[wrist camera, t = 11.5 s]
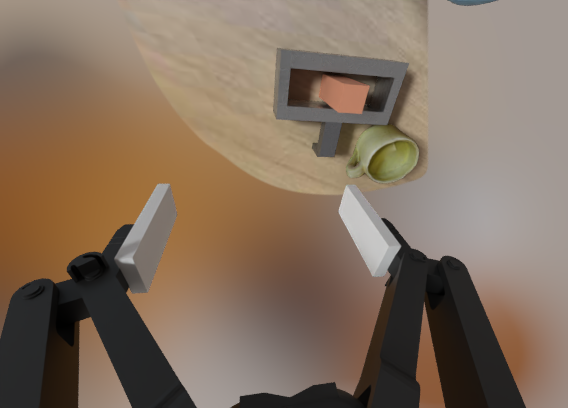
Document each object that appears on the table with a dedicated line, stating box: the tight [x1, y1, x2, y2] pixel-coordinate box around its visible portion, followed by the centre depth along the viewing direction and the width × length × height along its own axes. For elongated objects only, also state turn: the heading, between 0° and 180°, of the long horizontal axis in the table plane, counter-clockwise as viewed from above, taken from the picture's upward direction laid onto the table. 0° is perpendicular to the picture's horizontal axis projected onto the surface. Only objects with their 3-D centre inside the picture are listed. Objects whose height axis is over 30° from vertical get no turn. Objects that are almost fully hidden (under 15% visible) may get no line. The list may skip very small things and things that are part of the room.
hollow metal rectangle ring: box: [273, 48, 409, 157], centre depth 38 cm, size 16×19×5 cm
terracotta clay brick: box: [319, 74, 369, 114], centre depth 34 cm, size 4×4×10 cm
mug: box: [346, 124, 419, 183], centre depth 43 cm, size 12×10×10 cm
